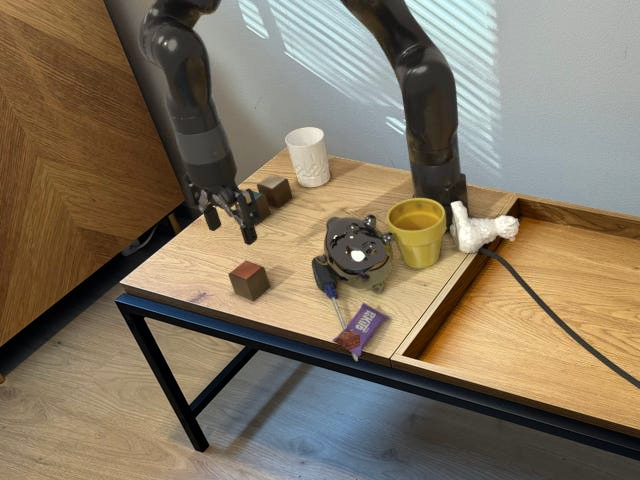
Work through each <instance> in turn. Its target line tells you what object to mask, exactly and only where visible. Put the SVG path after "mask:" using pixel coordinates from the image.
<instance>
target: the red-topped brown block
mask: <svg viewBox="0 0 640 480" xmlns="http://www.w3.org/2000/svg"><path fill="white" fill-rule="evenodd" d="M228 278H229V280H230V284H231V286H232V289H233V293H234V294H235V295H237V296H239V297H242V298H244V299H246V300H249V301H251V302H254V301H256V300H257V299H258V298H259V297H260V296H262V295H264V293H265V292H266V291H268V290H269V289H271V283H270V281H269V278H268V275H267V271H266V268H265V267H264V266H261V265H260V264H257V263H254V262H253V261H249V260H247V259H245V260H244V261H243V262H241V264H239V265H237V267H235V268H234V269H233V270H231V271H230V272H229V273H228Z"/></svg>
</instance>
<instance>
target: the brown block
mask: <svg viewBox="0 0 640 480" xmlns="http://www.w3.org/2000/svg"><path fill="white" fill-rule="evenodd" d="M256 188H257V191H258V193H261V194H264V195H266V198H267V202H268V205H269V207H270V208H271V207H272V208H274V209H278V210H279V209H281V207H283V206H284V205H285V204H287V203H288V202H289V201H291V200H292V199H293V197H294V196H293V193H292V190H291V186H290V182H289V179H288V178H286V177H282V176H279V175H277V174H273V173H271V174H269V175H268V176H266V177H265V178H264V179H262V180H261V181H259V182H257V184H256Z"/></svg>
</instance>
